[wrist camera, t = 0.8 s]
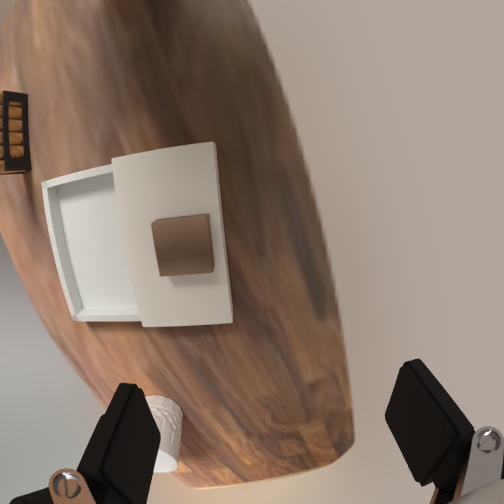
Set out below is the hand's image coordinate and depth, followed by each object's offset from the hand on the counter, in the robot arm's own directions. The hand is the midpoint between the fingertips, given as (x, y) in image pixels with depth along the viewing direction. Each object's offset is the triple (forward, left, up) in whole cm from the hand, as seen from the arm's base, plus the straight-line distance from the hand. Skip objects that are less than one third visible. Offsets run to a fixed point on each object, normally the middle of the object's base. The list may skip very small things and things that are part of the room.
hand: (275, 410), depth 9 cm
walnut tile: (-2, -6, -19) cm, 20 cm away
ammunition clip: (-18, -28, -22) cm, 40 cm away
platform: (-2, -8, -22) cm, 23 cm away
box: (-2, -18, -22) cm, 28 cm away
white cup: (+24, -16, -22) cm, 37 cm away
